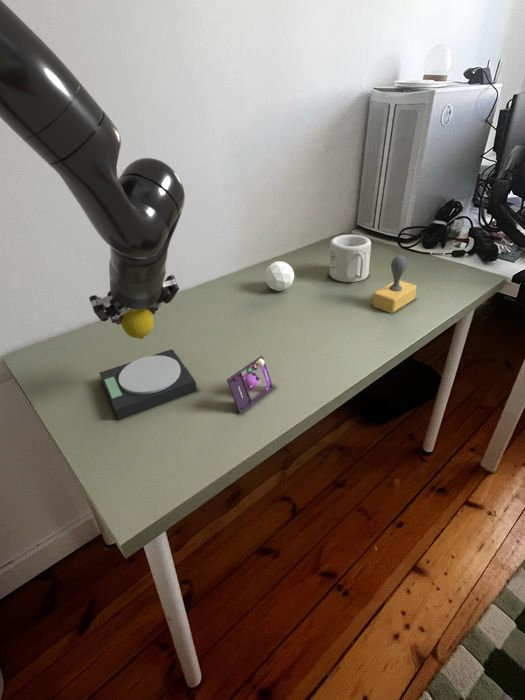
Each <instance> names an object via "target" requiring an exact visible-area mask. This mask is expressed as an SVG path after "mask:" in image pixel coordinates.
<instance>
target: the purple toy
mask: <svg viewBox="0 0 525 700" xmlns="http://www.w3.org/2000/svg"><path fill="white" fill-rule="evenodd" d="M258 368H260V370H261V372H262V374H263V377H264V380H265V382H266V383H265V384H266V386H265V390H263V391H262V392H261V393H260V394H259V395H257V396H256V397H254V398H253V399H252V398H251V395H250V392H251V391H253V390H254V389H256V388H257V387H258V385H260V384H261V381H260V379H261V378H262V375H261V376H258V375H257V373H258ZM244 371H246V373H244V375H243V372H244ZM253 371H254V372H253ZM226 382H227V385H228V387H229V390H230V393H231V396H232V398H233V401H234V403H235V406H236V409H237V412H238V413H241V414H242V413H243V412H245V410H247V409H248V408H250V407H251V406H252V405H253V404H254V403H256V402H257V401H258V400H260V399H261V398H262V397H264V396H265V395H266V394H267V393H269V392H270V391H272V389H273V388H274V385H273V382H272V379H271V376H270V374H269V370H268V367H267V365H266V362H265V358H264V356H262V355H260V356H259V357H257V358H256V359H254V360H253V361H251V362H250V363H248V364H247V365H246V366H244V367H243V368H241V369H240V370H238V371H237V372H235V373H234V374H232V375H231V376H230V377H228V378H227V379H226Z"/></svg>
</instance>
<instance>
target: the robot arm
mask: <svg viewBox="0 0 525 700" xmlns="http://www.w3.org/2000/svg"><path fill="white" fill-rule="evenodd" d="M0 119H1V120H2V121H3V122H4V123H5V124H6V125H7V126H8V127H9V128H10V129H11V130H12V131H13V132H14V133H15V134H16V135H17V136H18V137H19V138H21V140H23V142H24V143H26V144H27V146H29V147H30V148H31V149H32V150H33V151H34V152H35V153H36V154H37V155H38V156H39V157H40V158H41V159H42V160H43V161H44V162H45V163H47V164H48V165H49V166H50V167H51V168H52V169H53V171H55V172H56V173H57V174H58V175H59V177H60V178H61V179H62V181H63V182H64V184H65V185H66V187H67V189H68V190H69V191H70V193H71V194H72V196H73V197H74V199H75V200H76V201H77V203H78V205H79V207H80V208H81V209H82V211H83V212H84V214H85V216H86V217H87V219H88V221H89V222H90V224H91V225H92V227H93V228H94V229H95V231H96V233H97V234H98V235H99V236H100V238H101V239H102V240H103V241H104V242H105V243H106V244H107V245H108V246H109V251H110V258H109V262H108V273H109V289H110V290H109V291H108V292H107V294H106V296H103V297H102V296H98V295H96V294H95V295H93V294H92V295H91V296H89V297H88V299H89V301H90V305H91V307H92V310H93V313H94V314H95V315H96V316H97V318H98V319H99V320H100V321H101V322H107V321H108V320H109V318H110V322H111V323H112V324H116V325H117V326H118V325H121V315H126V314H127V313H128V312H129V311H130V310H131V309H144V308H147V307H149V308H150V310H151V312H152V315H155V314H156V312H157V311H158V310H159V308H160V307H161V306H162V305H161V304H162V303H164V304H169V303H171V302H172V300H173V299H174V298H175V296H176V295H177V293H178V291H179V290H180V287H179V284H178V282H177V280H176V277H175V275H174V274H170V275H168V276H167V277H166V273H167V265H166V264H167V260H168V256H169V255H168V254H169V247H170V243H171V240H172V237H173V236H174V233H175V232H176V231H175V230H176V229H177V225H178V223H179V221H180V219H181V215H182V213H183V210H184V206H185V201H186V194H185V188H184V186H183V182H182V180H181V178H180V176H179V175H178V173H177V172H176V171H175V169H173V168H172V167H171V166H170V165H169V164H167V163H166V162H164V161H162V160H160V159H157V158H153V157H143V158H138V159H136V160H134V161H132V162H130V163H129V164H128V165H127V166H126V167H125V168H124V169H123V171H122V173H121V174H120V176H118V169H117V167H118V162H119V161H118V160H119V156H120V151H121V148H122V147H121V146H122V137H121V133H120V130H118V129H119V128H118V127H117V126H116V124H115V123H114V122H113V120H112V119H111V118H110V117H109V115H108V114H107V113H106V112H105V111H104V110H103V108H102V107H101V106H100V104H99V103H98V102H97V101H96V99H95V98H94V97H92V95H91V94H90V93H89V91H88V90H87V89H86V88H85V86H84V85H83V84H82V83H81V82H80V80H79V79H78V78H77V77H76V76H75V74H74V73H73V72H72V71H71V70H70V69H69V68H68V66H66V64H65V63H64V62H63V61H62V60H61V59H60V58H59V56H57V54H56V53H55V52H54V51H53V50H52V49H51V48H50V47H49V46H48V44H46V43H45V42H44V41H43V39H42V38H40V36H38V35H37V34H36V32H34V31H33V30H32V29H31V28H30V27H29V26H28V25H27V24H26V23H25V22H24V21H23V20H22V19H21V18H20V17H19V16H18V15H17V14H16V13H15V12H14V11H13V9H11V8H10V7H9V6H8V5H7V4H6V3H5V2H4V1H3V0H0ZM165 277H166V279H165Z"/></svg>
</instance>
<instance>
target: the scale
mask: <svg viewBox="0 0 525 700" xmlns="http://www.w3.org/2000/svg"><path fill="white" fill-rule="evenodd" d="M99 375H100V378H101V381H102V384H103V387H104V389H105V392H106V394H107V396H108V399H109V401H110V404H111V406H112V409H113V412H114V413H115V416H116V418H117V421H118V420H123V419H124V418H127V417H131V416H132V415H135V414H138V413H141V412H143V411H146V410H148V409H152V408H154V407H157V406H159V405H162V404H165V403H168V402H170V401H173V400H176V399H179V398H182V397H184V396H187V395H190V394H192V393H195V392H198V388H197V383H196V380H195V378H194V377H193V376H192V374H191V373H190V371H189V370H188V369H187V367H186V366H185V365H184V363H183V362H182V360H181V359H180V357H179V356H178V355H177V354H176V352H175V351H174V349H173V348H171V349H168V350H167V349H166V350H164V351H161V352H158V353H155V354H152V355H149V356H144V357H141V358H138V359H136V360H134V361H130V362H128V363H125V364H122V365H118V366H116V367H112V368H109V369H105V370H103V371H100V372H99Z"/></svg>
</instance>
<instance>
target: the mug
mask: <svg viewBox="0 0 525 700" xmlns="http://www.w3.org/2000/svg"><path fill="white" fill-rule="evenodd" d="M329 247H330V249H329V250H330V251H329V252H330V253H329V276H330V277H331V278H332V279H333V280H335V281H337V282H341V283H342V282H343V283H358V282H361V281H363V280H365V279H366V278H368V277H369V273H370V263H371V262H370V261H371V250H372V241H371V240H370V238H369V237H367V236H364V235H360V234H342V235H338V236H335V237H332V239H331V240H330V245H329Z"/></svg>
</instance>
